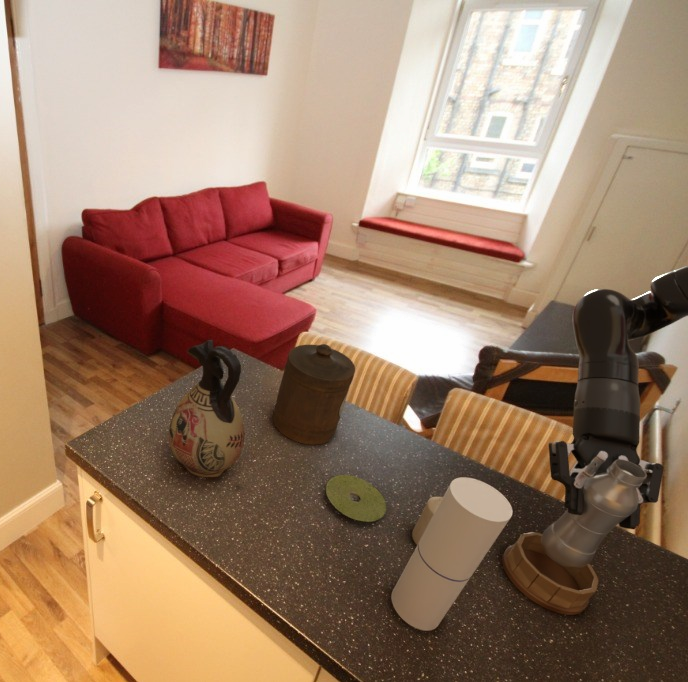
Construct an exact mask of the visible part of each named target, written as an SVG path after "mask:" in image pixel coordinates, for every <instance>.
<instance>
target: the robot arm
mask: <svg viewBox="0 0 688 682" xmlns="http://www.w3.org/2000/svg"><path fill="white" fill-rule="evenodd" d="M686 317H688V265H685V266H683V267H680V268H677V269H675V270H671V271H668V272H666V273H663V274H661V275H659V276H656V277H655V278H653V280H651V282H650V285H649V291H647V292H646V293H644V294H642V295H639V296H637V297H635V298H629V297H628V296H626V295H625V294H623V293H622V292H619V291H617V290H614V289H609V288H598V289H594V290H590V291H588V292H587V293H585V294H584V295H582V296H581V298H579V299H578V301H577V302H576V304H575V306H574V308H573V311H572V329H573V334H574V340H575V346H576V349H577V352H578V358H579V360H578V367H577V384H576V388H575V393H574V401H573V415H572V416H573V419H572V431H571V432H572V436H573V440H572V442H570V443H567V442H566V441H564V440H558V441H551V442H548V454H549V455H548V456H549V468H550V478H551V479H552V480H553V481H557V482H559V483H560V484H562V485H563V486H564V489H565V491H564V507H565V509H566V510H567V509H568V513H570V514H574V515H582V514H583V500H584V497H583V496H584V494H583V490H581V488H582V487H583V486H584V484H585V482H586V481H587V479H588V478H591V477H593V476H594V474H597V473H603V472H607V468H608V467H609V466H611V465H612V464H613V462H614V461H615V460H617V459H622V460H626V461H629V462H632V463H634V464H636V465H637V466H639V467H640V468H642V469H643V470H644V471H645V472H646V474H647V477H646V478H645V480H644V481H643V482H642V485H641V486H640V487H638V488H636V490H637V493H638V499H639V503H638V507H637V509H636V510H635V511H634V512H633V513H632V514H631V515H629V516H628V517H627V518H625V519H624V520H623V521H621V522H620V523H619V524H618V525H619V527H620V528H623V529H628V530H636V529H637V527H639V525H640V523H641V505H643V504H646V503H653V504H656V503H658V502H659V498H660V491H661V485H662V480H663V474H664V465H662V464H661V463H659V462H649V461H647V460H643V459H641V458H640V456H639V454H638V452H637V450H638V446H639V444H640V433H641V431H640V429H641V397H640V391H639V376H640V375H639V373H640V365H639V364H640V363H639V358H638V355H637V353H635V351H634V350H633V348H632V347H631V345H630V343H629V341H633V340H637V339H641V338H644V337H646V336H649V335H651V334H652V333H655V332H657V331H659V330H661V329H664V328H666V327H668V326H670V325H673V324H675V323H676V322H678V321H680V320H681V319H683V318H686ZM571 454H572V456H573V457H574V459H575V460H576V462H575V463H574V464H573V465H572V467H571V469H570V464H569V463H570V462H569V457H570V456H571Z"/></svg>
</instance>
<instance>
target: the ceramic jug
mask: <svg viewBox="0 0 688 682" xmlns="http://www.w3.org/2000/svg"><path fill="white" fill-rule="evenodd" d="M186 352H187V354H189V355H190V356H192V357H193V358H195V360H197V362H198V363H199V364H200V365H201V366H202V377H201V379H200V380H199V381H198V383H197V384H196V385H194V386H193V387H192V388H191V389H190V390H189V391H188V392H187V393H186V395H184V396H183V397H182V399H181V400H180V401H179V402H178V404H177V405H176V407H175V409H174V412H173V414H172V416H171V420H170V423H169V427H168V443H169V447H170V450H171V452H172V455H173V456H174V457H175V459H176V460H177V461H178V462H179V463H180V464H182V465H183V466H184V467H185V469H186V470H187V471H188V472H190V474H192V475H194V476H197V477H201V478H216V477H220V476H222V474H223V473H224V471H225V470H227V469H229V468H230V467H231V466H233V465H234V463H235V462H236V461H237V460H238V458H239V457H240V456H241V453H242V452H243V448H244V444H245V435H246V434H245V433H246V432H245V425H244V421H243V416H242V413H241V411H240V408H239V406H238V405H237V402H236V401H235V399H234V397H233V396H232V395H233V393H234V391H235V389H236V388H237V386H238V385H239V382H240V379H241V373H242V364H241V361H240V360H239V358H238V356H237V355H236V354H235V353H234V352H232V350H231V349H230V348H229V347H227V346H224V345H218V346H215V347H214V340H213V339H209V340H206V341H205V342H203V343H200V344H198V345H197V344H195V345H193V346H191V347H189V348H188V349H186ZM221 361H222V362H223V364H224V365H225V366H226V368H227V379H226V381H225V382H224V384H223V383H222V380H223V379H224V376H225V375H224V373H225V372H224V366H223V364H222V362H221Z"/></svg>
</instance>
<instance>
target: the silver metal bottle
mask: <svg viewBox="0 0 688 682" xmlns="http://www.w3.org/2000/svg"><path fill="white" fill-rule="evenodd" d="M646 477H647V474H646V472H645V471H644V470H643V469H642V468H640V467H639V466H637V465H636V464H634V463H632V462H629V461H626V460H622V459H617V460H615V461H614V462H613V464H612V465H611V466H609V467H608V468H607V472H603V473H597V474H594V476H593V477H591V478H588V479H587V481H586V482H585V484H584V486H583V487H582V488H581V490H583V494H584V496H583V497H584V500H583V514H582V515H574V514H570V513H568V509H567V508H566V510H565V511H564V513H562V515H560V516H559V518H558V519H556V521H554V522H553V523H551V524H550V525H549V526H547V527H546V528H545V529H544V530H543V533H542V534H543V535H542V537H541V544H542V548H543V550H544V551H545V553H546V554H547V555H548V556H549V557H550V558H551V559H552V560H553V561H555V562H556V563H558V564H560V565H562V566H564V567H567V568H582V567H584V566H586V565H587V564H589V563H591V562H592V561H593V559H594V557H595V555H596V552H597V550H598V548H599V547H600V545H601V544H602V542H603V540H605V537H606V536H608V534H610V532H612V531H613V530H614V528H615V527H616V526H617V525H619V523H620V522H621V521H623V520H624V519H625V518H627V517H628V516H629V515H631V514H632V513H633V512H634V511H635V510H636V509H637V507H638V503H639V499H638V493H637V490H636V488H638V487H640V486H641V485H642V482H643V481H644V480H645V478H646Z"/></svg>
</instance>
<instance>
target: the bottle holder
mask: <svg viewBox="0 0 688 682" xmlns="http://www.w3.org/2000/svg"><path fill="white" fill-rule="evenodd" d="M542 535H543V533H540V532H536V531H535V532H534V531H532V532H527V533H522V534H520V536H519V537H518V539H517V540H516V541H515V543H514V544H512V545H510V546H508V547H507V548H506V549H505V551H504V552H503V553H502V556H501V565H502V568H503V570H504V573H505V574H506V576H507V578H508V579H509V581H510V582H511V583H512V584H513V585H514V586H515V588H516V589H517V590H518V591H519V592H520V593H522V594H523V595H524V597H527V598H528V599H529V600H530V601H532V602H534V603H535V604H536V605H538V606H540V607H542V608H544V609H546V610H548V611H550V612H553V613H555V614H560V615H566V616H574V615H579V614H581V613H583V612H584V611H585V610H586V608H588V606H589V603H590V598H591V597H592V596H593V595H594V594H595V593H596V591H597V589H598V585H599V581H600V580H599V578H598V576H597V574H596V572H595V569H594V568H593V567H592V564H590V563H591V562H590V563H589V564H587V565H586V566H584V567H582V568H567V567H564V566H562V565H560V564H558V563H556V562H555V561H553V560H552V559H551V558H550V557H549V556H548V555H547V554H546V553H545V551H544V550H543V548H542V544H541V537H542Z"/></svg>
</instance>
